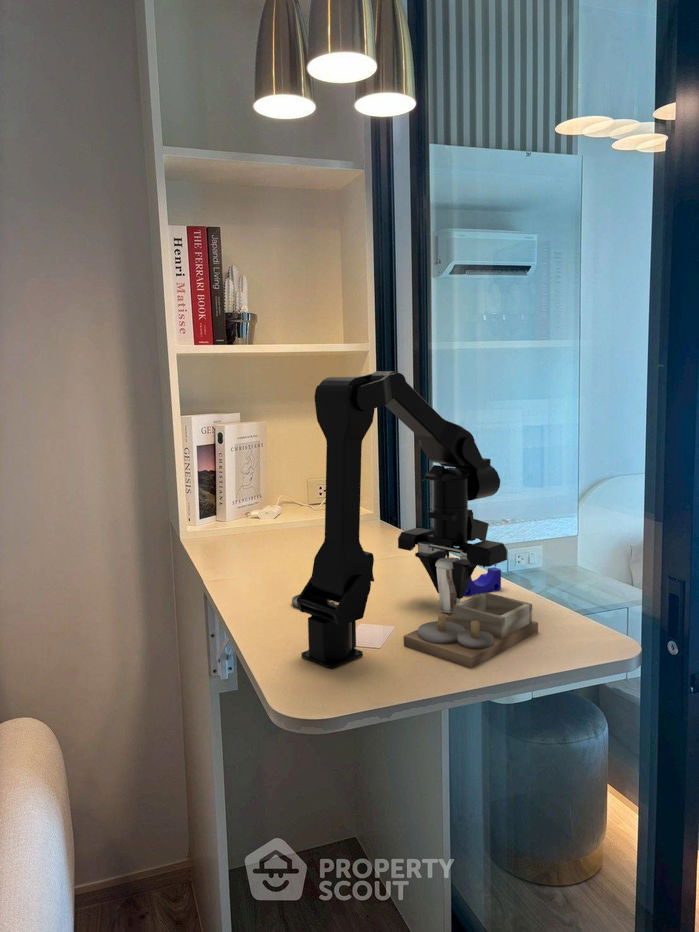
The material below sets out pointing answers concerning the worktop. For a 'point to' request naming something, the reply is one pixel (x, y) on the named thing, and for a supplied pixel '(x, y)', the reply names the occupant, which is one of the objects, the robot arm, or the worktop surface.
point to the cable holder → (485, 582)
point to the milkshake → (446, 583)
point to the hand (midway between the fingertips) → (450, 595)
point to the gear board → (475, 630)
